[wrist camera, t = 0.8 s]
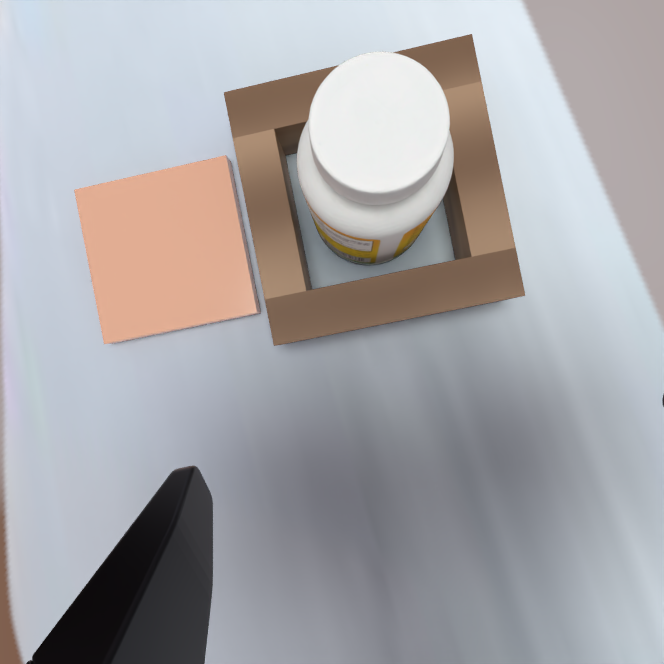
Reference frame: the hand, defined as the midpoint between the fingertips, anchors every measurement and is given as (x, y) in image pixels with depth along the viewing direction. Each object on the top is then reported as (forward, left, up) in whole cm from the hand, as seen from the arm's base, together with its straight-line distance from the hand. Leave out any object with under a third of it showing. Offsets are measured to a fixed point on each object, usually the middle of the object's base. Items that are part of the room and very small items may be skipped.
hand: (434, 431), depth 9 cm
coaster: (+8, +9, -14) cm, 18 cm away
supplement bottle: (+8, -1, -14) cm, 16 cm away
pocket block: (+8, -1, -14) cm, 16 cm away
